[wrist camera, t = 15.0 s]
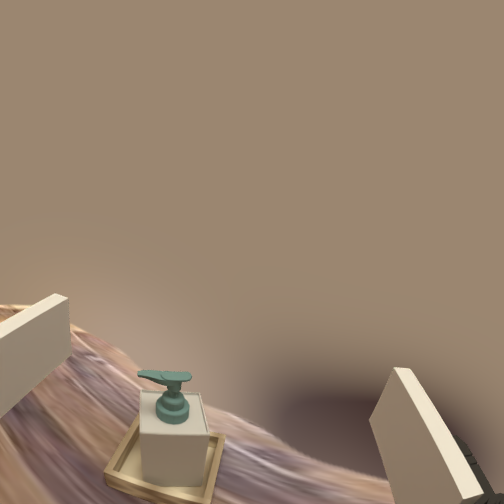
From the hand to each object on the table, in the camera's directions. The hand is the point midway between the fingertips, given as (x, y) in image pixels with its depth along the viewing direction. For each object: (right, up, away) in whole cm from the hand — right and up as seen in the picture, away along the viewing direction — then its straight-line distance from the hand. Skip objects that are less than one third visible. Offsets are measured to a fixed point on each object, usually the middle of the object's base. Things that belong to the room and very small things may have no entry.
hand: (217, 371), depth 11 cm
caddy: (-12, -29, +27) cm, 42 cm away
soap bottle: (-11, -29, +27) cm, 41 cm away
